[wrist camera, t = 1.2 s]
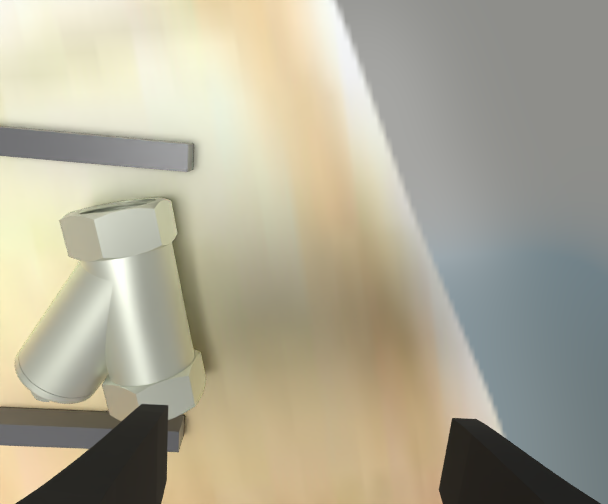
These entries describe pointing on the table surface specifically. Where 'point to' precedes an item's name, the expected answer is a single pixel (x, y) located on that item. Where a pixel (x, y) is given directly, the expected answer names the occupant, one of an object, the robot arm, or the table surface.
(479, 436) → the robot arm
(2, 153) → the dark grey bars
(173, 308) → the pipe fitting
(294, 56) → the table surface
